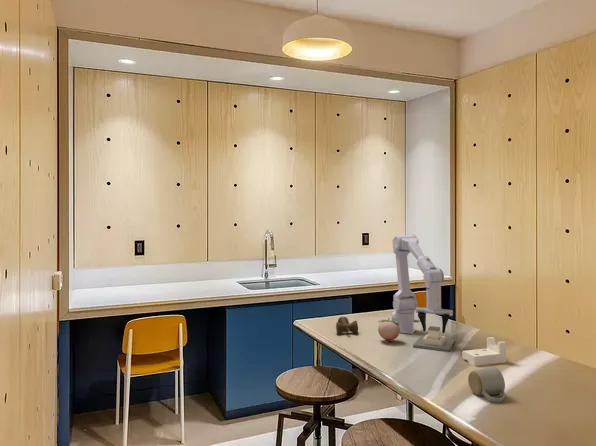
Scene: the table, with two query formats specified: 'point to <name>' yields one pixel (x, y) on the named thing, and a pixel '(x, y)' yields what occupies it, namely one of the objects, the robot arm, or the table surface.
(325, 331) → the table surface
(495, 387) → the ceramic mug
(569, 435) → the table surface
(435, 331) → the block
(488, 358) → the bracket
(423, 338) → the outlet plate
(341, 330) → the kendama
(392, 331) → the decorative fruit
